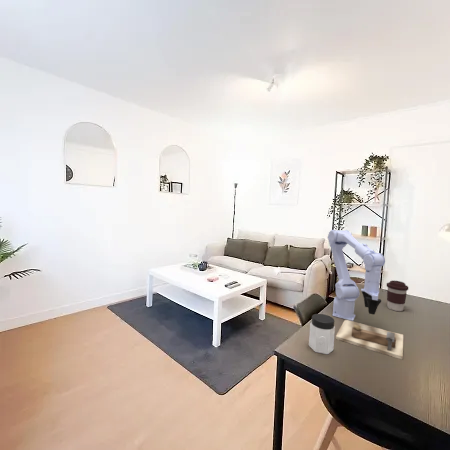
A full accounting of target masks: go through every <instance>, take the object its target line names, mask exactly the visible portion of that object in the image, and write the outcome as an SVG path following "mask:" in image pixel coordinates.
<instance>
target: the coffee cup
mask: <svg viewBox="0 0 450 450" xmlns="http://www.w3.org/2000/svg"><path fill="white" fill-rule="evenodd" d="M386 287H387V290H386V299H387V308H388V309H389V310H391V311H395V312H403V311H404V307H405V303H406V298H407V295H408V294H407V291H409V286H408V285H406V283H405V282H403V281H400V280H390V281H389V282H387V283H386Z"/></svg>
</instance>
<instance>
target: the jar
mask: <svg viewBox="0 0 450 450" xmlns="http://www.w3.org/2000/svg"><path fill="white" fill-rule="evenodd" d="M335 332H336V326H335V319H334V318H333V317H332V316H330V315H328V314H324V313H315V314H313V315H312V316H311V322H310V323H309V336H308V337H309V338H308V346H309V348H311V349H312V350H313V351H314V352H315V353H318V354H319V353H320V354H324V355H329V354H330V353H331V352H333V351H334V345H335V336H336V335H335V334H336V333H335Z"/></svg>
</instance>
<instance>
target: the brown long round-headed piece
mask: <svg viewBox="0 0 450 450" xmlns="http://www.w3.org/2000/svg"><path fill="white" fill-rule="evenodd" d="M352 336H353V337H355V338H360V339H364V340H368V341H372V342H375V343H379V344H383V345H387V346H388V340H386V337H387V335H383V334H379V333H375V332H371V331H367V330H363V329H360V330H356V329H354V327H353V328H352ZM395 345H396V338H395V337H394V342H392V346H391V347H394V348H395Z"/></svg>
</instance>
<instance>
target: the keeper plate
mask: <svg viewBox="0 0 450 450" xmlns="http://www.w3.org/2000/svg"><path fill="white" fill-rule="evenodd" d="M353 327H354V329H356V330H360V329H363V330H367V331H371V332H375V333H379V334H383V335H387V337H386V340H388V346H387V345H383V344H379V343H375V342H372V341H368V340H364V339H360V338H355V337H353V336H352V328H353ZM394 337H395V338H396V345H395V348H394V347H391V346H392V342H394ZM335 340H338V341H341V342H345V343H348V344H349V345H350V344H351V345H354V346H356V347H357V346H358V347H360V348H363V349H367V350H369V351H374V352H376V353H379V354H383V355H386V356H390V357H393V358H395V359H399V360H403V356H404V355H403V353H404V352H403V351H404V334H402V333H398V332H393V331H390V330H386V329H382V328H378V327H375V326H372V325H367V324H363V323H360V322H357V321H354V320H353V321H351V320H347V319H344V321H343V322H342V325H341V326H340V327H339V330H338V331H337V332H336V335H335Z"/></svg>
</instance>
